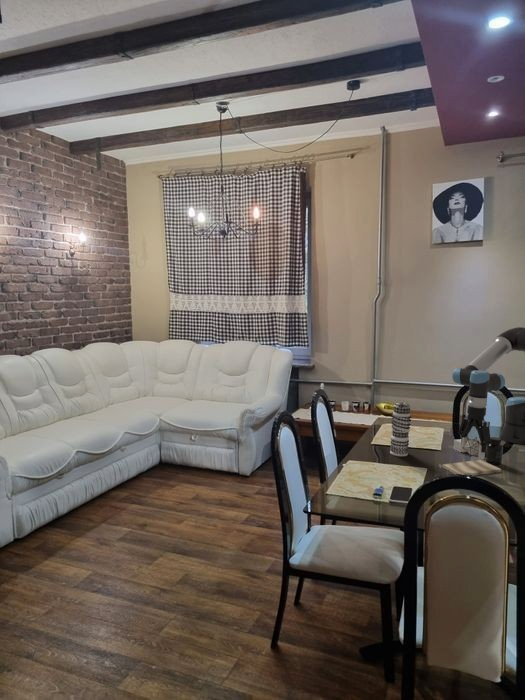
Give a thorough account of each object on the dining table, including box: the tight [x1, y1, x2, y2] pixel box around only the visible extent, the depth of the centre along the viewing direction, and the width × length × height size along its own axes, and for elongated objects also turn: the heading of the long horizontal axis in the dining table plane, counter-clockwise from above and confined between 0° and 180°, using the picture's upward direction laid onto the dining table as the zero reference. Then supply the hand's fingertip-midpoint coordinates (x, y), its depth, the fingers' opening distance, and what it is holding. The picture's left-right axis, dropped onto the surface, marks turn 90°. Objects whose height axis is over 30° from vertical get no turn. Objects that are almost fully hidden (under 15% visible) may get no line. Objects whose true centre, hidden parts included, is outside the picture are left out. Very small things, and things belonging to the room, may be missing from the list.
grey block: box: [453, 438, 468, 453], centre depth 245 cm, size 5×5×5 cm
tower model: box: [389, 401, 412, 457], centre depth 236 cm, size 9×9×25 cm
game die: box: [462, 436, 481, 458], centre depth 218 cm, size 9×8×10 cm
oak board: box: [441, 459, 502, 477], centre depth 220 cm, size 22×12×1 cm, turn 110°
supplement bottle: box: [485, 436, 504, 467], centre depth 227 cm, size 7×7×12 cm
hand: (472, 455), depth 219 cm, fingers closed on game die, 9 cm apart
